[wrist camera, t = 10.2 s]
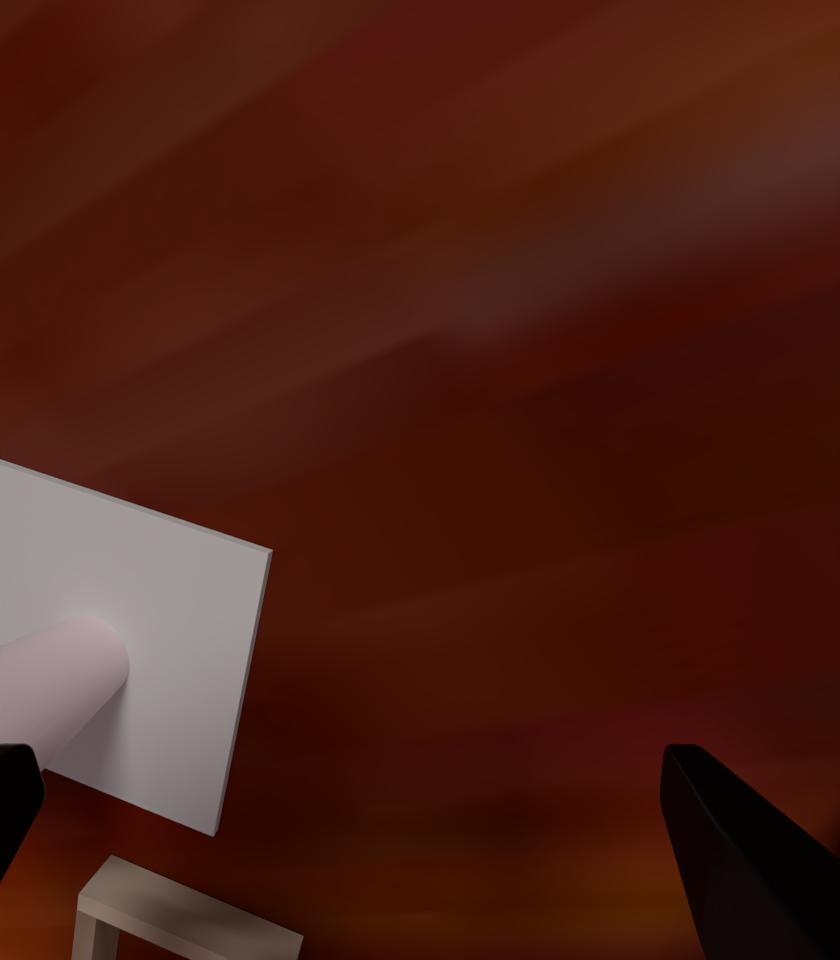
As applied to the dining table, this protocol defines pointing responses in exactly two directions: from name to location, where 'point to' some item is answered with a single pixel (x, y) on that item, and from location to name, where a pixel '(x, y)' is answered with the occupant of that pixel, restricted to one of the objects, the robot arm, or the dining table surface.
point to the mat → (139, 634)
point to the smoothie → (58, 682)
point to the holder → (170, 919)
